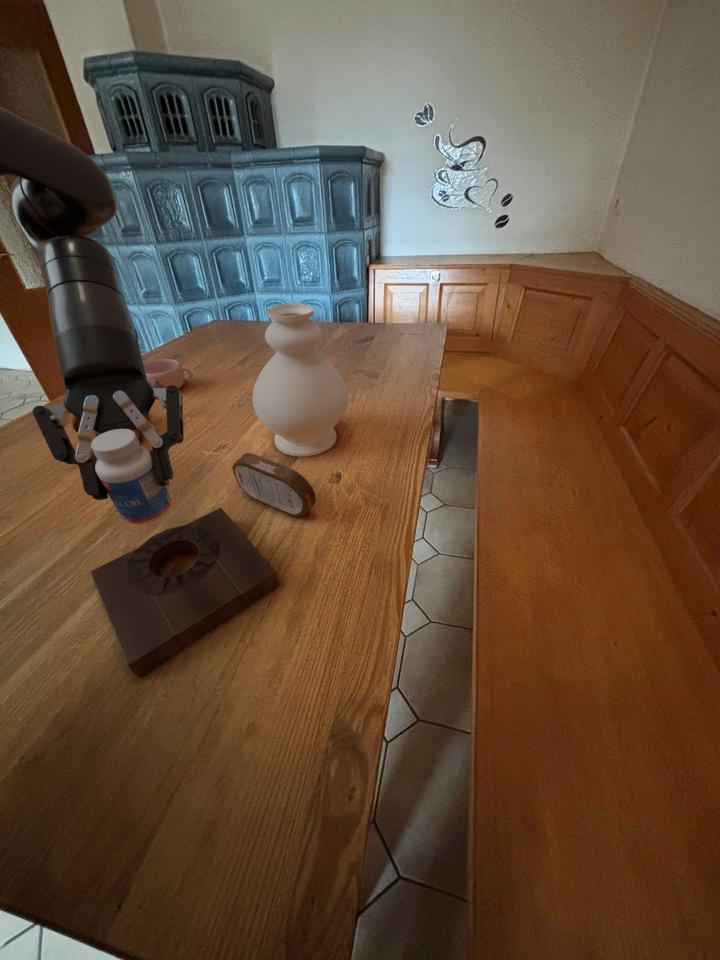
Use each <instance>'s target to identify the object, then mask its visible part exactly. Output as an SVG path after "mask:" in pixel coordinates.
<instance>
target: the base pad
mask: <svg viewBox="0 0 720 960" xmlns="http://www.w3.org/2000/svg"><path fill="white" fill-rule="evenodd" d="M183 555H196V556H197V558H196V560H195V562H194V563H193V564H191V566H190V567H189V568H188V569H186V570H185V571H183V572H180V573H179V574H177V575H172V576H168V577H167V576H158V573H159V572H160V570H161V568H162V567H163V566H164V565H165V564H166V563H168V561H170V560H172V559H174V558H176V557H178V556H183ZM90 574H91V577H92V580H93V583H94V585H95V587H96V589H97V592H98V594H99V597H100V600H101V602H102V605H103V608H104V610H105V612H106V615H107V617H108V620H109V623H110V626H111V627H112V631H113V632H114V635H115V637H116V640H117V643H118V645H119V648H120V650H121V653H122V655H123V657H124V661H125V663H126V666H127V667H128V668H129V669H130V670H131V671H132V672H133V674H134V675H135V676H136V678H140V677H142V676H144V675H145V674H146V673H148V672H150V671H151V670H153V669H154V668H155V667H156V668H157V666H159V665H161V663H164V662H165V661H166V660H168V659H170V658H171V657H173V656H174V655H176V654H177V653H179V652H180V651H182V650H183V649H185V648H186V647H187V646H190V645H191V644H193V643H194V642H196V641H197V640H199V639H200V638H202V637H203V636H205V635H206V634H208V633H209V632H211V631H212V630H214V629H216V628H217V627H219V626H220V625H222V624H224V622H227V620H228V621H229V620H230V619H231V618H233V617H234V616H236V615H237V614H239V613H240V612H241V611H243V610H244V609H246V608H247V607H249V606H251V605H252V604H254V603H256V602H257V601H258V600H259V599H261V598H263V597H264V596H266V595H267V594H269V593H270V592H272V591H273V590H275V589H276V588H278V587H280V581H279V577H278V572H277V570H276V569H275V568H274V567H273V566H272V565H271V563H270V562H269V561H268V560H267V559H266V558H265V557H264V556H263V554H262V553H261V552H260V550H258V548H256V546H255V544H253V543H252V542H251V540H250V539H249V538H248V537H247V536H246V535H245V534H244V532H243V531H242V530H241V529H240V528H239V527H238V525H237V524H236V523H235V522H234V520H232V519H231V517H230V516H229V515H228V514H227V513H226V511H225V510H224V509H223V508H222V507H219V508H217V509H214V510H213V511H211V512H209V513H207V514H205V515H203V516H200V517H199V518H196V519H194V520H192V521H190V522H188V523H186V524H184V525H180V526H176V527H171V528H167V529H165V530H163V531H161V532H159V533H156V534H155V535H153V536H150V537H148V539H147V540H145V541H144V542H143V543H142V544H140V545H139V546H138V547H137V548H135V549H132V550H131V551H129V552H127V553H125V554H123V555H121V556H119V557H117V558H115V559H113V560H110V561H109V562H106V563H105V564H103V565H100V566H98V567H96V568H94V569H92V570H90Z"/></svg>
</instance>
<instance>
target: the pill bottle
mask: <svg viewBox="0 0 720 960" xmlns="http://www.w3.org/2000/svg"><path fill="white" fill-rule="evenodd" d="M91 447H92V449H93V451H94V453H95V456H96V457H97V458H98V460H97V462H96V465H95V470H96V473H97V475H98V477H99V479H100V481H101V482H102V484H103V486H104V487H105V489H106V491H107V493H108V497H109V498H110V500H111V501H112V503H113V505H114V507H115V509H116V511H117V513H118V514H119V516H120V517H121V519H122V520H123V521H124V522H126V523H128V524H131V525H145V524H149V523H152V522H154V521H156V520H158V519H159V518H161V517H163V516H164V515H165V514H166V513H167V512H168V511H169V509H170V508H171V506H172V497H171V495H170V493H169V490H168V487H167V486H160V485H159V484H158V482H157V478H156V474H155V470H154V466H153V462H152V457H151V453H150V451H151V450H149V449H148V448H147V447H145V446H143V445H141V444H140V439H139V440H138V438H137V436H136V434H135V433H134V432H133V431H132V430H129V429H115V430H111V431H107V432H105V433H102V434H100V435H99V436H97V437H96V438H95V439H94V440H93V441H92V443H91Z"/></svg>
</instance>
